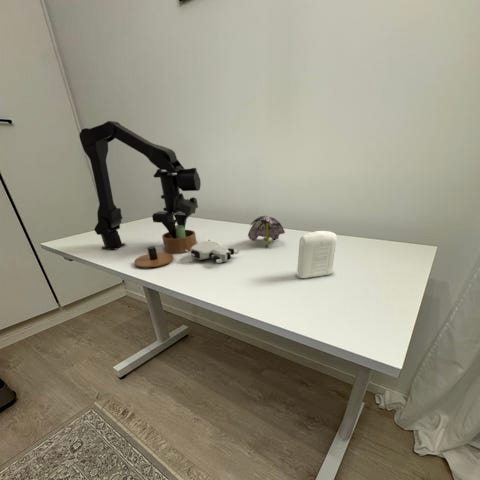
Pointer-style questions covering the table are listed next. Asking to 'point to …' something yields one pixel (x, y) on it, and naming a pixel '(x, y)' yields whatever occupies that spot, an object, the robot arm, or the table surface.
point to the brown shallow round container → (179, 242)
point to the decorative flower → (265, 229)
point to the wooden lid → (153, 258)
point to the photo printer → (316, 254)
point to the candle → (180, 232)
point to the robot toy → (211, 251)
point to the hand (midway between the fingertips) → (178, 236)
